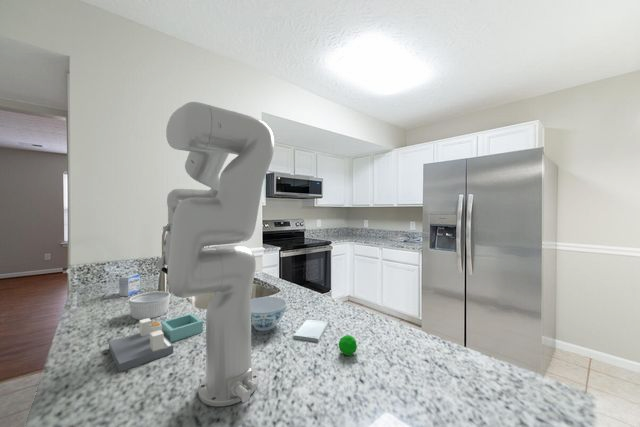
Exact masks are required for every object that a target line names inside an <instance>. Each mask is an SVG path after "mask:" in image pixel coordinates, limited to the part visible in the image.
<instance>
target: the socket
mask: <svg viewBox="0 0 640 427" xmlns="http://www.w3.org/2000/svg"><path fill="white" fill-rule="evenodd" d="M203 322H204V320H201V319H200V318H199V317H198V316H197V315H195V314H193V313H189V314H184V315H182V316H177V317H173V318H170V319H167V320H166V319H165V320H162V321H160V324H161V325H162V332H163V333H164V336H165V337H166V338H167V339H168V340H169V341H170V342H171V343H174V342H176V341H180V340H183V339H186V338H189V337H192V336H195V335H198V334H202V333H203V332H204V331H203V330H204V327H203V326H204V323H203Z"/></svg>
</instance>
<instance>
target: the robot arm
mask: <svg viewBox="0 0 640 427" xmlns="http://www.w3.org/2000/svg"><path fill="white" fill-rule="evenodd" d="M165 134H166V135H165V136H166V141H167V144H169V146H170V147H171V148H172V149H174V150H178V151H185V152H188V155H187V157H186V160H185V163H184V168H185V172H186V173H187V175H188V177H190V178H191V179H192V180H194V181H196V182H198V183H199V184H202V185H204V186H206V187H208V188H210V189H191V188H190V189H189V188H188V189H187V188H175V189H172V190H171V191H170V192H169V193H168V194H167V198H166V206H167V225H165V226H162V230H163V231H164V232H165V231H166V232H167V233H166V234H165V236H164V242H163V248H162V256H161V257H160V258H159V259H158V261H157V262H156V263H155V264H154V267H156V269H158V270H161V271H162V272H163V273H165V274H166V280H167V281H166V285H167V286H168V289H169V292H170V294H171V293H172V295H173V296H175V297H176V298H181V299H184V298H191V297H197V296H198V297H199V296H203V295H207V294H210V293H211V294H212V293H214V294H213V295H212V296H211V298H210V300H209V302H208V305H207V308H206V310H205V311H206V313H205V347H206V348H205V352H206V353H205V355H206V356H205V357H206V359H205V364H206V366H205V368H206V369H205V371H206V372H205V377H204V378H203V379H202V381H201V382H200V383H199V385H198V398H199V400H200V401H201V402H202V403H203V404H205V405H207V406H211V407H227V406H232V405H234V404H238V403H240V402H242V403H246V402H248V401H249V400H250V398H251V395H252V394H253V393H254V392H255V391H256V390H257V387H258V385H259V374H258V372H257V370H255V369H254V368H253V367H252V325H251V299H252V297H253V295H252V294H253V293H252V292H253V284H254V280H255V273H256V268H257V267H256V266H257V265H256V264H257V263H256V261H257V260H256V258H255V257H256V256H255V253H253V251H252V250H251V249H250V248H248V247H247V246H244V245H240V244H239V243H244V242H246V241H249V240H250V239H251V238H253V235H254V232H255V230H256V225H257V219H258V214H259V207H260V202H261V197H262V190H263V185H264V184H263V183H264V180H265V178H266V175H267V172H268V170H269V168H270V165H271V163H272V159H273V155H274V149H275V138H274V135H273V131H272V129H271V128H270V127H269V125H268V124H267V123H266V122H264V121H262V120H260V119H258V118H257V117H254V116H251V115H248V114H244V113H241V112H237V111H233V110H230V109H225V108H221V107H218V106H214V105H210V104H206V103H203V102H199V101H198V102H197V101H190V102H187V103H185V104H183V105H182V106H180V107H178V108H177V109H176V110H175V111H174V112H173V113H172V114H171V116H170V117H169V119H168V122H167V124H166V130H165ZM229 154H230V155H237V156H236V157H235V158H233V159H232V160H231V161H230V162H228V164H227V165H226V166H225V168H223V166H224V164H225V162H226V160H227V159H228V156H229ZM222 168H223V170H222ZM221 170H222V171H221ZM209 246H210V247H209ZM163 264H164V265H167V267H166V266H164V265H163Z"/></svg>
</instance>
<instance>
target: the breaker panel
mask: <svg viewBox="0 0 640 427" xmlns="http://www.w3.org/2000/svg"><path fill="white" fill-rule="evenodd" d="M151 323H153V322H152V320H151V319H150V318H147V319H143V320H139V331H138V333H134V334H129V335H128V336H123V337H120V338H117V339H116V338H115V339H111V340H109V341H108V349H109V352H110V354H111V356H112V358H113V360H114V363H115V365H116V367H117V369H118V372H119V373H121V372H124V371H126V370H129V369H132V368H134V367H135V368H136V367H139V366H140V365H142V364H143V365H144V364H146V363H149V362H151V361H154V360H157V359H160V358H163V357H166V356H168V355H170V354H171V355H172V354H174V344H173V342H170V341H169V340H168V339H167V338H166V337H165V336H164V333H163V332H162V331H161V330H159V331H155V332H152V333H150V338H149V325H150V324H151Z"/></svg>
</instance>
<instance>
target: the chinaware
mask: <svg viewBox="0 0 640 427" xmlns="http://www.w3.org/2000/svg"><path fill="white" fill-rule="evenodd" d="M287 302H288V301H287V300H285V299H284V298H282V297H281V298H280V297H276V296H262V297H261V296H260V297H255V298H251V326H253V327H254V329H255V330H256V331H260V332H265V331H270V330H272V329H274V328H275V326H276V324H277V323H279V322H280V320H282V318H283V316H284V315H285V313H286V310H287Z"/></svg>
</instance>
